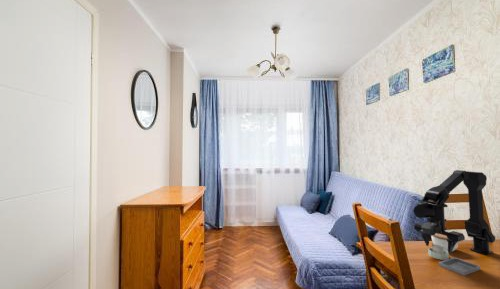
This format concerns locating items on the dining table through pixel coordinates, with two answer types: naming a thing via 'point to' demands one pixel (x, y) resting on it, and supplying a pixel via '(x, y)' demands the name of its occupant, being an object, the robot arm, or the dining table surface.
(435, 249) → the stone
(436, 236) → the lidded jar
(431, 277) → the dining table surface
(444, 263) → the parts tray
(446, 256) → the bowl
